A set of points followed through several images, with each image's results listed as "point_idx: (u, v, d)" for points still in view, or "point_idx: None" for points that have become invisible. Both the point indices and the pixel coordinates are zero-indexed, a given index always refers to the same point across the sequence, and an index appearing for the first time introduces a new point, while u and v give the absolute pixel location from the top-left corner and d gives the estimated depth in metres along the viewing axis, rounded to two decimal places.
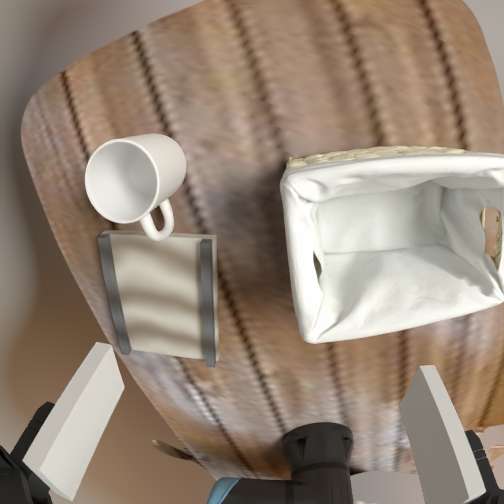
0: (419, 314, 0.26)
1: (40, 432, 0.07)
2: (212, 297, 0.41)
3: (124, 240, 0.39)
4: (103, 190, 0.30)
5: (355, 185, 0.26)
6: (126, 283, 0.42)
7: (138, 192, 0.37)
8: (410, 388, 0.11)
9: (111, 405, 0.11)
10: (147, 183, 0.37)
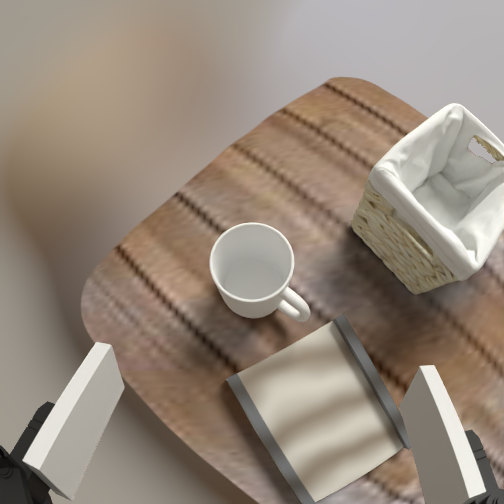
0: (503, 208, 0.28)
1: (40, 432, 0.07)
2: None
3: (257, 370, 0.35)
4: None
5: (405, 177, 0.34)
6: (278, 420, 0.32)
7: None
8: (410, 388, 0.11)
9: (111, 405, 0.11)
10: None
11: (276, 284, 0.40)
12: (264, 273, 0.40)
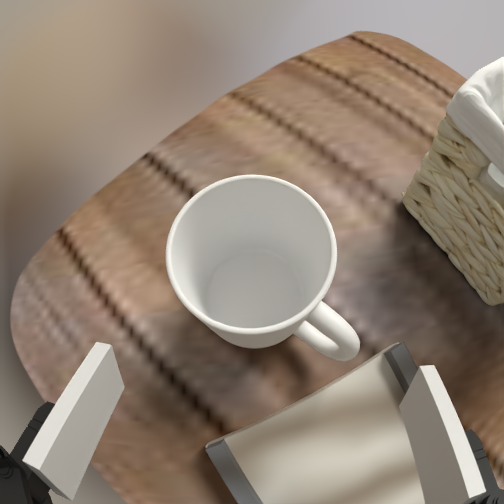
0: None
1: (40, 432, 0.07)
2: None
3: (257, 436, 0.19)
4: None
5: None
6: None
7: None
8: (410, 388, 0.11)
9: (111, 405, 0.11)
10: (253, 328, 0.23)
11: (292, 292, 0.24)
12: (273, 273, 0.25)
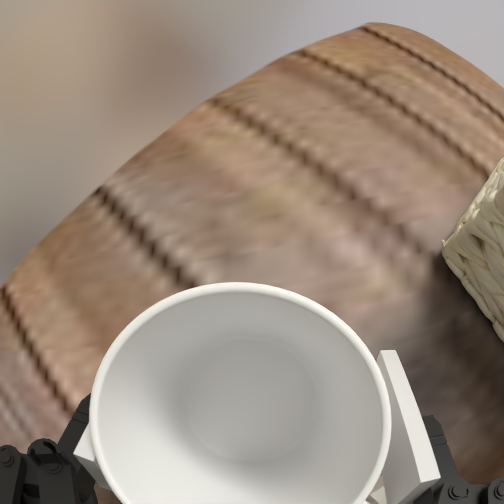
0: None
1: None
2: None
3: None
4: (165, 484, 0.08)
5: None
6: None
7: (236, 465, 0.14)
8: None
9: None
10: (245, 441, 0.15)
11: (301, 399, 0.16)
12: (276, 372, 0.16)
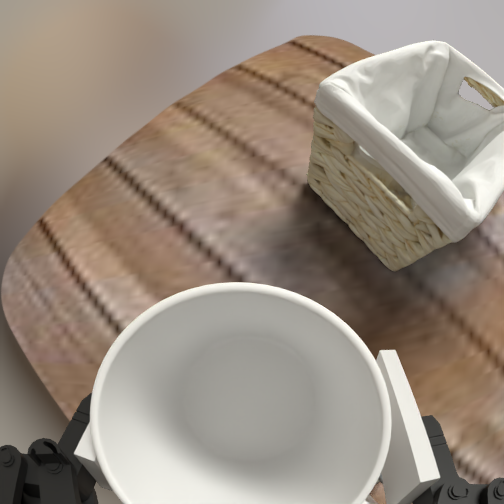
0: None
1: None
2: None
3: None
4: (165, 484, 0.08)
5: (372, 112, 0.26)
6: None
7: (235, 465, 0.14)
8: None
9: None
10: (244, 441, 0.15)
11: (301, 398, 0.16)
12: (276, 372, 0.16)
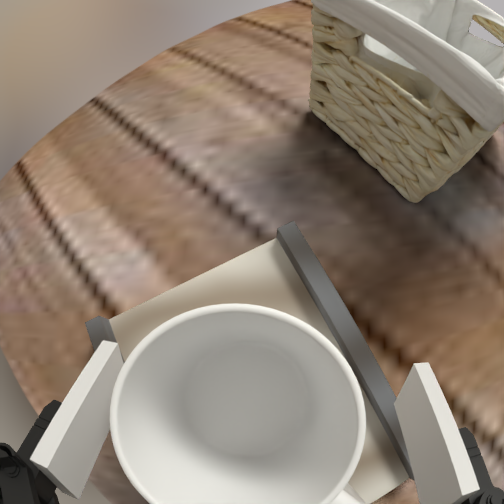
0: None
1: (47, 430, 0.07)
2: None
3: (138, 317, 0.20)
4: (171, 474, 0.10)
5: None
6: None
7: (233, 459, 0.15)
8: (404, 385, 0.12)
9: None
10: (241, 438, 0.17)
11: (294, 399, 0.17)
12: (271, 375, 0.18)
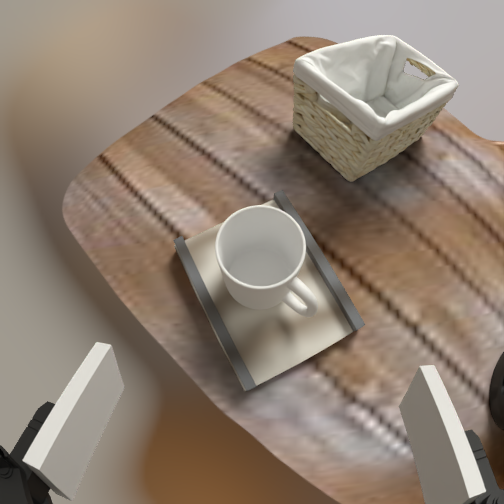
0: (423, 97, 0.34)
1: (40, 432, 0.07)
2: None
3: (202, 238, 0.40)
4: None
5: (333, 80, 0.40)
6: (219, 285, 0.38)
7: None
8: (410, 388, 0.11)
9: (111, 405, 0.11)
10: None
11: (283, 276, 0.38)
12: (272, 263, 0.38)
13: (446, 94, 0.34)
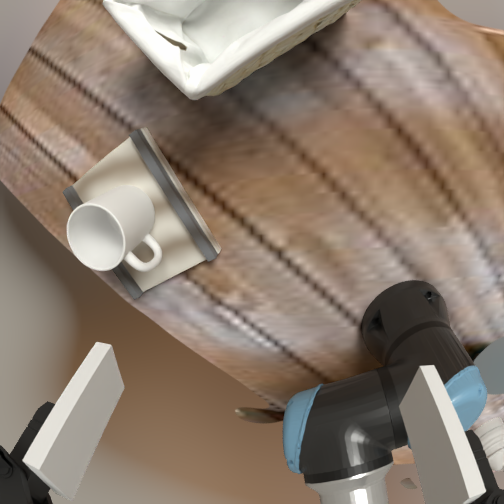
0: (291, 13, 0.20)
1: (40, 432, 0.07)
2: (168, 179, 0.39)
3: (83, 181, 0.40)
4: (92, 251, 0.36)
5: None
6: None
7: None
8: (410, 388, 0.11)
9: (111, 405, 0.11)
10: None
11: None
12: None
13: None
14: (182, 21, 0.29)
